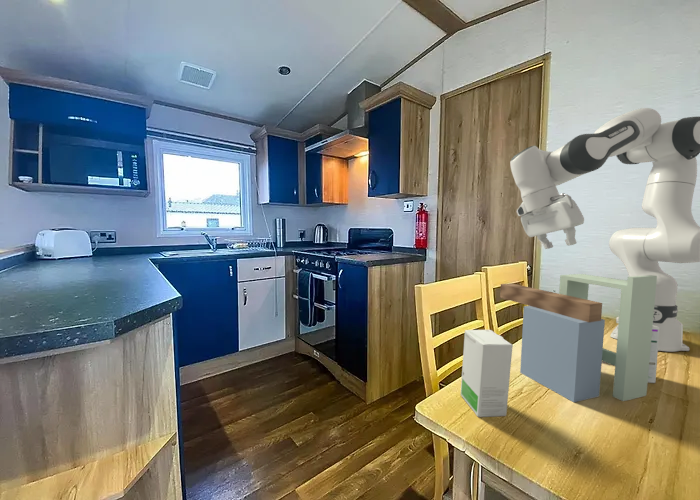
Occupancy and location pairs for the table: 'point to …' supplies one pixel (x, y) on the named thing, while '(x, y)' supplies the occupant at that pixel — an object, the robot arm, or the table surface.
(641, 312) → the sage shelf
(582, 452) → the table surface
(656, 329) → the syrup box
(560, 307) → the walnut batten
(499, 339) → the skincare box
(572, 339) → the slate-blue block
